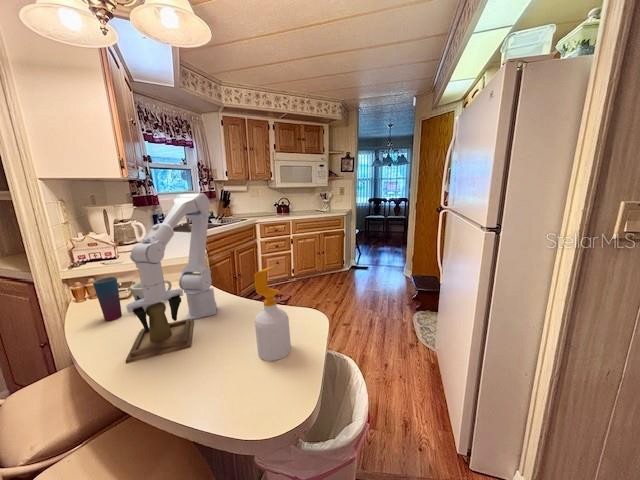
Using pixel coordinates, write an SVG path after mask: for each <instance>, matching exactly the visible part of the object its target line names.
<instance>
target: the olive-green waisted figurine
mask: <svg viewBox="0 0 640 480" xmlns="http://www.w3.org/2000/svg"><path fill="white" fill-rule="evenodd" d="M145 312H146V316H147V317H148V320H149V321H148V323H149V324H148V327H149V331H150V341H151V342H160V341H164V340H166V339H168V338H169V337H170V336H171V335H172V332H171V329H170V326H169V323H170V322H169V320H168V318H167V316H166V313H165V312H166V305H165V303H164V302H163V301H162V302H159V303H155V304H152V305H149V306H147V307H146V311H145Z"/></svg>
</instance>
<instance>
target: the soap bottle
mask: <svg viewBox="0 0 640 480" xmlns="http://www.w3.org/2000/svg"><path fill="white" fill-rule="evenodd" d="M276 268H277V267H276V266H275V265H273V266H269V267H266V268H264V269H260V270H259V271H256V272H255V273H254V276H253V277H254V278H253V279H254V288H255V293H256V294H257V295H259V296H263V297H264V299H265V300H264V302H263V308H264V309H262V311H260V312H259V313H258V314H257V315H256V316H255V319H254V327H255V336H256V337H255V338H256V347H257V355H258V356H259V358H260V359H262V360H264V361H268V362H273V361H278V360H281V359H283V358H285V357H288V355H289V353H290V352H291V349H292V346H291V344H292V343H291V332H290V320H289V318H290V317H289V315H288V314H287V312H286V311H285V310H283V309H282V308H280V307H278V306H277V300H276V299H274V297H275V296H276V295H277V294H279V293H280V290H279V289H276V288H271V287H269V286H268V278H267V272H269V271H271V270H273V269H276Z"/></svg>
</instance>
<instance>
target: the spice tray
mask: <svg viewBox="0 0 640 480" xmlns="http://www.w3.org/2000/svg"><path fill="white" fill-rule="evenodd" d="M168 323H169V326H170V329H171V332H172V335H171V336H170V337H169V338H168V339H166V340H164V341H160V342H151V341H150V331H147V332H146V331H145V330H144V327H143V328H141V330H140V331H139V332H138V334H137V336H136V338H135V340H134V342H133V344H132V346H131V349H130V350H129V353H128V355H127V356H126V359H125V363H126V364H128V363H133V362H137V361H139V360H140V361H141V360H144V359H148V358H153V357H156V356H160V355H164V354H169V353H172V352H177V351H181V350H184V349H185V350H186V349H189V348H192V340H193V332H194V324H195V322H194V319H191V320H190V319H188V318H187V319H182V320H176V321H171V322H168Z"/></svg>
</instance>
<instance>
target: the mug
mask: <svg viewBox="0 0 640 480" xmlns="http://www.w3.org/2000/svg"><path fill="white" fill-rule="evenodd" d="M164 283H165V284H168V286H167V289H166V291H171V290H172V282H171V281H170V280H168V279H164ZM129 289H130V292H131V294H132V296H133V298H134V302H135V301H137V300H140V299H142V298H144V295H143V290H142V285H141V281H138V282H136V283H134V284H131V285H130V287H129ZM146 307H147V306H146ZM146 307H143V309H144V311H145V312H146Z"/></svg>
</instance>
